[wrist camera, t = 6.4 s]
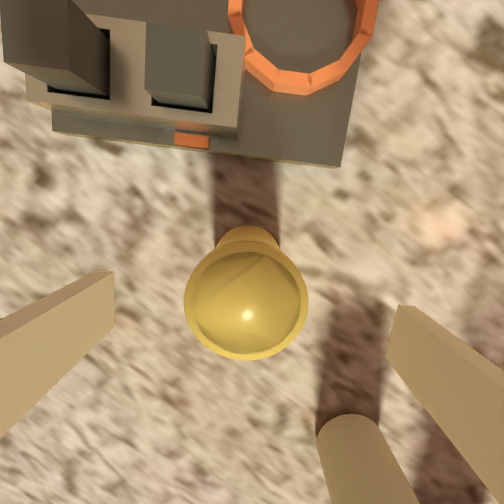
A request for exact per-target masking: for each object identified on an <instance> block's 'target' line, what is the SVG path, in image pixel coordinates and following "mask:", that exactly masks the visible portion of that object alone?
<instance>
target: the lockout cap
mask: <svg viewBox="0 0 504 504" xmlns="http://www.w3.org/2000/svg"><path fill="white" fill-rule="evenodd" d="M184 310H185V315H186V319H187V322H188V324H189V326H190V328H191V330H192V332H193V333H194V335H195V336H196V337H197V338H198V340H199V341H200V342H201V343H202V344H203V345H205V346H206V347H207V348H209V349H210V350H211V351H213V352H215V353H217V354H219V355H221V356H224V357H227V358H231V359H236V360H257V359H262V358H265V357H268V356H271V355H273V354H276V353H278V352H279V351H281V350H282V349H284V348H285V347H286V346H288V345H289V344H290V343H291V342H292V341H293V340H294V339H295V338H296V336H297V335H298V334H299V332H300V331H301V329H302V327H303V325H304V322H305V320H306V316H307V312H308V293H307V288H306V285H305V282H304V280H303V278H302V276H301V274H300V272H299V271H298V269H297V268H296V266H295V265H294V263H293V262H292V261H291V260H290V259H289V257H288V256H286V255H285V254H284V253H283V252H281V250H280V248H279V246H278V244H277V242H276V240H275V239H274V237H273V236H272V235H271V234H270V233H269V232H268V231H266V230H265V229H263V228H261V227H258V226H254V225H241V226H237V227H235V228H233V229H231V230H229V231H228V232H227V233H226V234H224V236H223V237H222V238H221V239H220V241H219V243H218V244H217V246H216V248H215V249H214V250H213V251H211V252H210V253H209V254H207V255H206V256H205V257H204V258H203V259H202V260H201V262H200V263H199V264H198V265H197V267H196V268H195V270H194V271H193V273H192V274H191V276H190V278H189V280H188V283H187V286H186V289H185V294H184Z"/></svg>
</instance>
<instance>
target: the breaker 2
mask: <svg viewBox="0 0 504 504" xmlns="http://www.w3.org/2000/svg"><path fill="white" fill-rule="evenodd" d="M215 72H216V63H215V59H214V56H213V52H212V48H211V45H210V41H209V37H208V33H207V31H206V30H199V29H191V28H184V27H177V26H170V25H163V24H156V23H149V22H146V42H145V78H144V89H145V90H146V91H147V92H148V93H149V94H150V95H151V96H152V97H153V98H154V99H155V100H156V101H157V102H158V103H160V104H161V105H162V106H163V107H166V108H174V109H182V110H189V111H197V112H205V113H212V110H213V98H214V85H215Z"/></svg>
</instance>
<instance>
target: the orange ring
mask: <svg viewBox="0 0 504 504" xmlns="http://www.w3.org/2000/svg"><path fill="white" fill-rule="evenodd" d="M355 1H356V5H357V8H358V10H357V15H356V21H355V27H354V33H353V38H352V43H351V44H350V46H349V47H348V49H347V50H346V51H345V53H344V54H343V55H342V57H341V58H340V60H338V61H336V62H334V63H332V64H330V65H327V66H325V67H323V68H321V69H319V70H317V71H315V72H312V73H310V74H308V73H300V72H293V71H286V70H279V69H278V68H276V67H275V66H274V65H273V64H272V63H271V62H269V61H268V60H267V59H266V58H265V57H264V56H262V55H261V54H260V53H259V52H258V51H257V50H255V49H254V48H253V45H252V42H251V40H250V37H249V34H248V32H247V29H246V26H245V24H244V21H243V18H242V17H243V7H244V0H229V4H228V23H229V30H230V33H231V34H234V35H241V36H245V42H246V57H245V65H246V70H248V71H249V72H250V73H251V74H252V75H253V76H255V77H256V78H257V79H258V80H259V81H261V82H262V83H263V84H264V85H265V86H267V87H268V88H269V89H270V90H271V91H276V92H283V93H290V94H298V95H305V96H306V95H309V94H311V93H313V92H315V91H317V90H320V89H322V88H324V87H326V86H328V85H330V84H333V83H335V82H337V81H339V80H340V79H341V78H342V76H343V75H344V74H345V73H346V71H347V70H348V69H349V67H350V66H351V65H352V63H353V62H354V61H355V59H356V58H357V56H358V55H359V54H360V52H361V51H362V50H363V48H364V47H365V46H366V44H367V43H368V41H369V40H370V39H371V37H372V35H373V29H374V24H375V19H376V14H377V8H378V3H379V0H355Z"/></svg>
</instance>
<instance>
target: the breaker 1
mask: <svg viewBox="0 0 504 504" xmlns="http://www.w3.org/2000/svg"><path fill="white" fill-rule="evenodd" d="M0 16H1V29H2V43H3V56H4V62H5V63H7V64H9V65H11V66H13V67H15V68H17V69H19V70H20V71H22V72H24V73H26V74H28V75H30V76H32V77H34V78H36V79H38V80H40V81H42V82H44V83H46V84H48V85H49V86H51V87H53V88H55V89H57V90H59V91H61V92H63V93H65V94H67V95H74V96H82V97H90V98H97V99H105V100H110V40H109V39H108V38H107V37H106V36H105V35H104V34H103V33H102V32H101V31H100V29H99V28H98V27H97V26H96V25H95V24H94V23H93V22H92V21H91V20H90V19H89V18H88V17H87V16H86V15H85V14H84V12H83V11H82V10H81V9H80V8H79V7H78V6H77V5H76V4H75V3H74V2H73V1H72V0H0Z"/></svg>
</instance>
